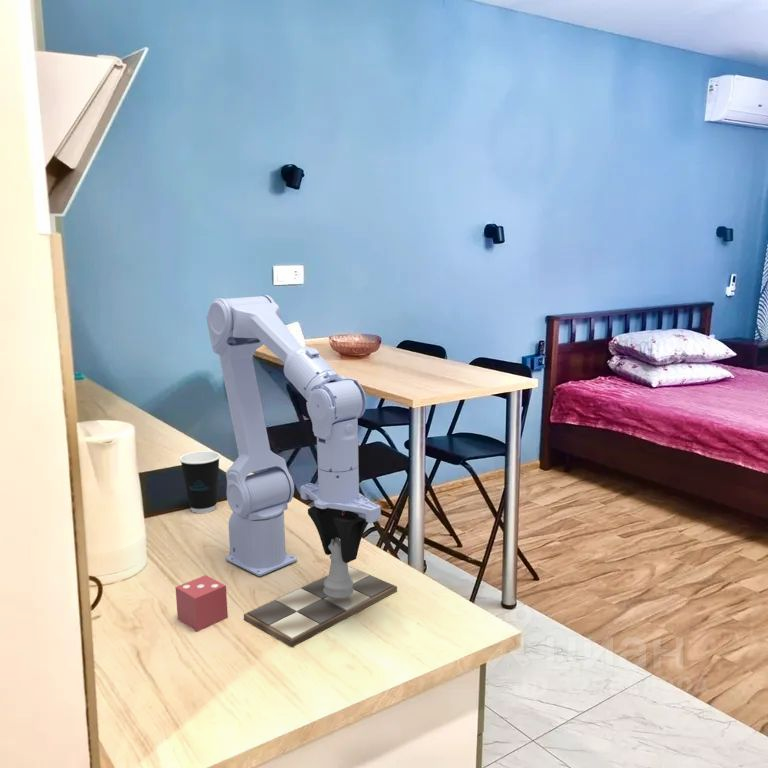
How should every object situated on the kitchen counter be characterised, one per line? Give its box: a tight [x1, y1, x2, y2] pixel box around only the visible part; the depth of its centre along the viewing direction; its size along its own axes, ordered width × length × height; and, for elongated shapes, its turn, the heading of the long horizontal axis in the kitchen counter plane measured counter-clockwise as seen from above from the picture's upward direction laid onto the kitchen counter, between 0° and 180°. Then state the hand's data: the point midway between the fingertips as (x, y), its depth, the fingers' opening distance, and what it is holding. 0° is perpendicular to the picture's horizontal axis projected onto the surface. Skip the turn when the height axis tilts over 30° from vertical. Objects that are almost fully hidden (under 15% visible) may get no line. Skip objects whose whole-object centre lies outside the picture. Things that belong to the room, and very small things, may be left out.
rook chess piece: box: [323, 537, 354, 599], centre depth 103 cm, size 4×4×8 cm
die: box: [174, 574, 229, 632], centre depth 102 cm, size 5×5×5 cm
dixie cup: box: [178, 450, 221, 514], centre depth 143 cm, size 8×8×11 cm
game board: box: [243, 565, 398, 648], centre depth 105 cm, size 11×21×1 cm, turn 137°
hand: (340, 556), depth 103 cm, fingers closed on rook chess piece, 3 cm apart
